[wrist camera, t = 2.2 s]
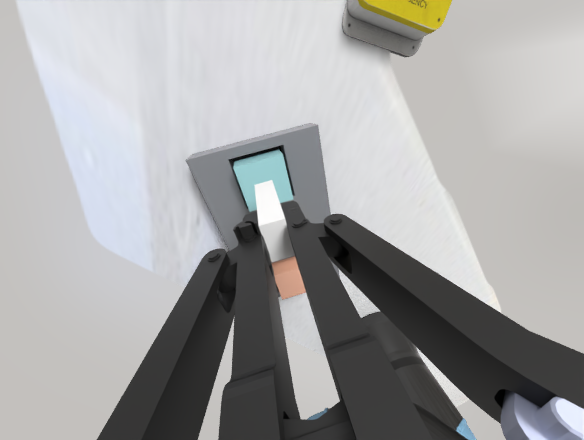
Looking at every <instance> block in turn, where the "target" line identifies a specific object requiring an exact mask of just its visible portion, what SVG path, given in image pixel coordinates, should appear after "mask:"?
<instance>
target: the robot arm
mask: <svg viewBox="0 0 584 440" xmlns="http://www.w3.org/2000/svg"><path fill="white" fill-rule="evenodd" d="M254 186H255V195H256V205H257V211H256V212H253V213H249V214H246V215H245V216H244V218H243V222H240V223H239V224H237V225H236V226H235V227H234V229H233V231H234V233H235V235H236V238H237V240H238V246H237V247H236V248H234V249H232V250H230V251H228V252H226V251H225V250H224V249H215V250H212V251H210V252H209V253H207V254H206V255H205V256H204V257H203V258H202V260H201V262H200V264H199V265H198V267H197V269H196V270H195V272H194V274H193V276H192V277H191V279H190V281H189V282H188V284H187V286H186V288H185V289H184V291H183V293H182V295H181V296H180V298H179V300H178V301H177V303H176V305H175V306H174V308H173V310H172V312H171V313H170V315H169V317H168V319H167V320H166V322H165V324H164V325H163V327H162V329H161V331H160V332H159V334H158V336H157V338H156V339H155V341H154V343H153V344H152V346H151V348H150V349H149V351H148V353H147V355H146V356H145V358H144V360H143V361H142V363H141V365H140V367H139V368H138V370H137V372H136V373H135V375H134V377H133V379H132V380H131V382H130V384H129V385H128V387H127V389H126V391H125V392H124V394H123V396H122V397H121V399H120V401H119V403H118V404H117V406H116V408H115V410H114V411H113V413H112V415H111V416H110V418H109V420H108V421H107V423H106V425H105V427H104V428H103V430H102V432H101V433H100V435H99V437H98V439H97V440H198V436H199V433H200V430H201V426H202V423H203V419H204V416H205V413H206V409H207V406H208V402H209V399H210V396H211V393H212V389H213V386H214V382H215V379H216V375H217V372H218V369H219V366H220V362H221V359H222V355H223V352H224V349H225V345H226V342H227V339H228V335H229V332H230V328H231V325H232V322H233V318H234V315H235V318H234V339H233V358H232V375H231V380H230V382H228V383H227V384H226V385H225V387H224V390H223V395H222V402H221V415H220V427H219V439H218V440H477V439H476V438H475V436H474V435H473V433H472V432H471V430H470V428H469V427H468V425H467V423H466V420H465V419H464V418H463V417H462V416H461V415H460V413H459V412H458V410H457V409H456V407H455V406H454V405H453V403H452V402H451V400H450V399H449V397H448V396H447V395H446V393H445V392H444V390H443V389H442V387H441V386H440V385H439V383H438V382H437V380H436V379H435V377H434V376H433V375H432V373H431V372H430V370H429V369H428V367H427V366H426V365H425V363H424V362H423V360H422V359H421V357H420V356H419V354H418V351H417V348H418V349H419V350H420V351H421V352H422V353H423V354H424V355H425V356H426V357H427V358H428V359H429V360H430V361H431V362H432V363H433V364H434V365H435V366H436V367H437V368H438V369H439V370H440V371H441V372H442V373H443V374H444V375H445V376H446V377H447V378H448V379H449V380H450V381H451V382H452V383H453V384H454V385H455V386H456V387H457V388H458V389H459V390H460V391H461V392H463V393H464V394H465V395H466V396H467V397H468V398H469V399H470V400H471V401H472V402H474V403H475V404H476V405H477V406H479V407H480V408H481V409H482V410H483V411H485V412H486V413H487V414H489V415H490V416H491V417H492V418H494V419H495V420H496V421H498V422H499V423H500V424H501V428H502V430H503V434H504V436H505V438H506V440H584V354H583V353H580V352H578V351H575V350H573V349H571V348H569V347H566V346H564V345H561V344H559V343H557V342H554V341H552V340H549V339H547V338H545V337H542V336H540V335H538V334H535V333H533V332H530V331H528V330H527V329H525V328H524V327H522V326H520V325H519V324H517V323H516V322H514V321H513V320H511V319H509V318H508V317H506V316H504V315H503V314H501V313H500V312H498V311H497V310H495V309H493V308H492V307H490V306H489V305H487V304H485V303H484V302H482V301H481V300H479V299H477V298H476V297H474V296H473V295H471V294H469V293H468V292H466V291H465V290H463V289H462V288H460V287H458V286H457V285H455V284H454V283H452V282H450V281H449V280H447V279H446V278H444V277H442V276H441V275H439V274H438V273H436V272H434V271H433V270H431V269H430V268H428V267H426V266H425V265H423V264H422V263H420V262H418V261H417V260H415V259H414V258H412V257H411V256H409V255H407V254H406V253H404V252H403V251H401V250H399V249H398V248H396V247H395V246H393V245H391V244H390V243H388V242H387V241H385V240H383V239H382V238H380V237H379V236H377V235H375V234H374V233H372V232H371V231H369V230H367V229H366V228H364V227H363V226H361V225H360V224H358V223H356V222H355V221H353V220H352V219H350V218H348V217H347V216H345V215H342V214H332V215H329V216H327V217H326V218H325V219H324V223H310V221H309V220H308V219H306V218H305V216H304V214H303V212H302V210H301V208H300V207H299V204H298V203H297V202H295V201H289V202H286V203H282V204H280V202H279V199H278V196H277V193H276V190H275V187H274V184H273V181H272V180H270V181H267V182H263V183H259V184H256V185H254ZM291 256H295V258H296V261H297V265H298V269H299V271H300V274H301V277H302V280H303V284H304V287H305V290H306V293H307V296H308V299H309V303H310V306H311V309H312V312H313V315H314V319H315V322H316V325H317V328H318V331H319V335H320V338H321V341H322V344H323V347H324V351H325V354H326V357H327V360H328V363H329V366H330V370H331V373H332V376H333V379H334V382H335V386H336V389H337V392H338V396H339V399H340V402H339V403H337V404H336V405H335V406H333V407H332V408H330V409H328V408H326V409H325V410H324V411H322V412H320V413H317V414H315V415H313V416H311V417H309V418H308V419H307V420H301V419H300V415H299V411H298V407H297V404H296V400H295V395H294V389H293V383H292V377H291V371H290V365H289V359H288V354H287V348H286V342H285V336H284V330H283V324H282V318H281V312H280V306H279V300H278V294H277V288H276V282H275V276H274V270H273V266H272V264H271V261H272V262H275V261H278V260H281V259H285V258H288V257H291ZM329 258H330V259H329ZM330 260H331V261H332V262H333V263H334V264H335V265H336V266H337V267H338V268H339V269H340V270H341V271H342V272H343V273H344V274H345V275H346V276H347V277H348V278H349V279H350V280H351V281H352V282H353V283H354V284H355V285H356V286H357V287H358V288H359V290H360V291H361V292H362V293H363V294H364V295H365V296H366V297H367V298H368V299H369V300H370V301H371V302H372V303H373V304H374V305H375V306H376V307H377V308H378V309H379V310H380V311H381V312H377V313H374V314H371V315H368V316H366V317H364V318H362V319H361V318H360V316H359V314H358V312H357V310H356V308H355V306H354V305H353V303H352V301H351V299H350V297H349V295H348V293H347V291H346V289H345V288H344V286H343V284H342V282H341V280H340V278H339V276H338V274H337V272H336V270H335V269H334V267H333V265H332V263H331V261H330ZM416 347H417V348H416Z"/></svg>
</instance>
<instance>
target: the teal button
mask: <svg viewBox="0 0 584 440" xmlns="http://www.w3.org/2000/svg"><path fill="white" fill-rule="evenodd" d="M233 168H234V171H235V174H236V176H237V179H238V182H239V184H240V187H241V190H242V192H243V195H244V198H245V201H246V203H247V206H248V209H249V211H250V212H251V211H254V210H257V205H256V195H255V186H254V185H256V184H259V183H263V182H267V181H270V180H272V181H273V184H274V187H275V190H276V193H277V196H278V199H279V202H280V203H282V202H286V201H289V200H293V195H292V191H291V187H290V183H289V178H288V174H287V170H286V166H285V162H284V157H283V154H282V153H281V151H280V150H279V149H277V150H273V151H270V152H266V153H262V154H258V155H255V156H251V157H247V158H244V159H240V160H236V161H235V163H234V167H233Z"/></svg>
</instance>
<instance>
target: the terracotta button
mask: <svg viewBox="0 0 584 440" xmlns="http://www.w3.org/2000/svg"><path fill="white" fill-rule="evenodd" d="M272 266H273V270H274V276H275V281H276V284H277V287H278V289H279V292H280V295H281V297H282V300H283V299H286V298H289V297H293V296H296V295H299V294H302V293H305V292H306V290H305V287H304V284H303V280H302V277H301V274H300V271H299V269H298V265H297V261H296V258H295V256H294V257H290V258H287V259H284V260H280V261H277V262H274V263H272Z"/></svg>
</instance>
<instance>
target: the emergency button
mask: <svg viewBox="0 0 584 440" xmlns="http://www.w3.org/2000/svg"><path fill="white" fill-rule="evenodd" d="M451 2H452V0H347V2H346V6H345V10H344V15H343V21H342V27H343V30H344V33H345V34H347V35H348V36H350V37H353V38H356V39H359V40H362V41H365V42H368V43H371V44H374V45H376V46H379V47H382V48H385V49H388V50H390V53H393V54H396V55H399V56H402V57H410V56H412V55H414V54H415V53H416V52H417V51H418V49H419V47H420V45H421V42H422V39H423V37H424V36H426V35H427V34H429V33H432V32H434V31H435V30H436V29H438V28H439V27H441V25H442V24H443V22H444V20H445V17H446V15H447V12H448V9H449V7H450V5H451Z"/></svg>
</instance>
